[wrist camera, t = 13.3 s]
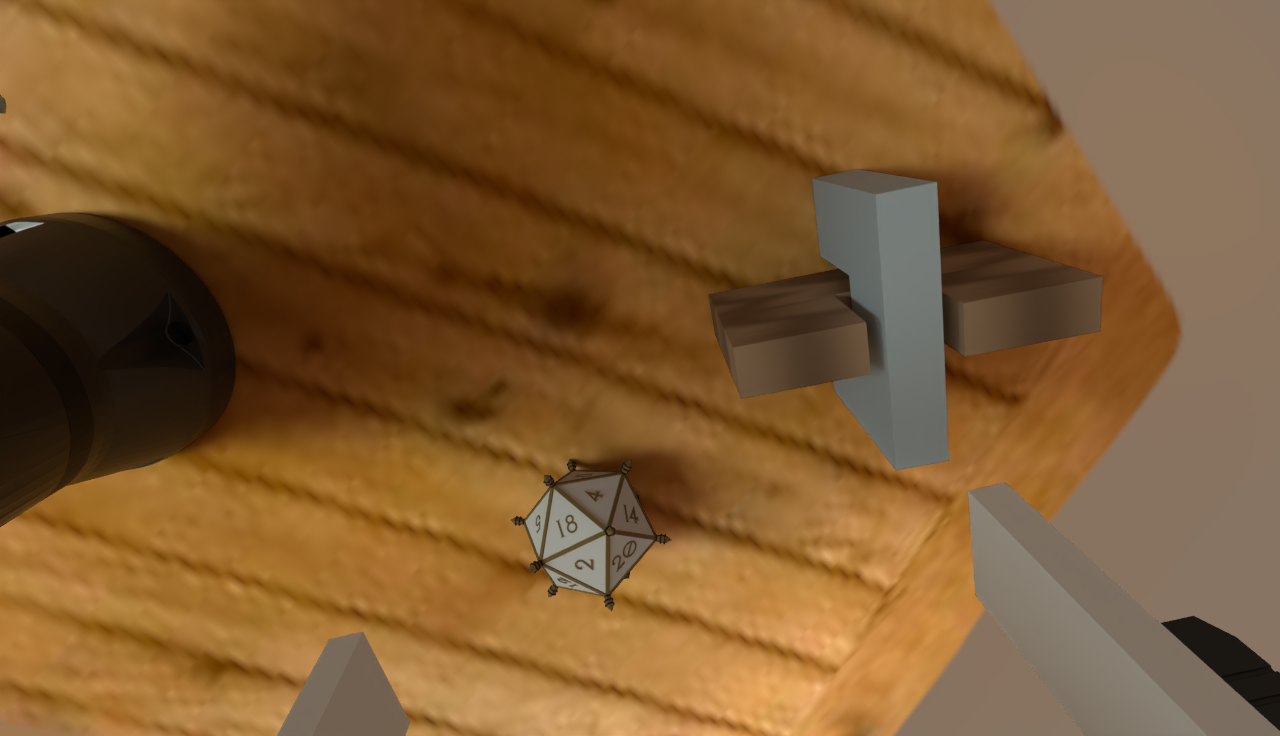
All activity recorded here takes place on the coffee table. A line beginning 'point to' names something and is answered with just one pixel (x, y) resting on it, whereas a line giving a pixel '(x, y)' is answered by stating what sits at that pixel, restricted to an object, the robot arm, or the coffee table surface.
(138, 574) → the coffee table surface
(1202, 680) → the robot arm
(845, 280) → the base plank
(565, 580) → the game die
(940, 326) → the cross plank
